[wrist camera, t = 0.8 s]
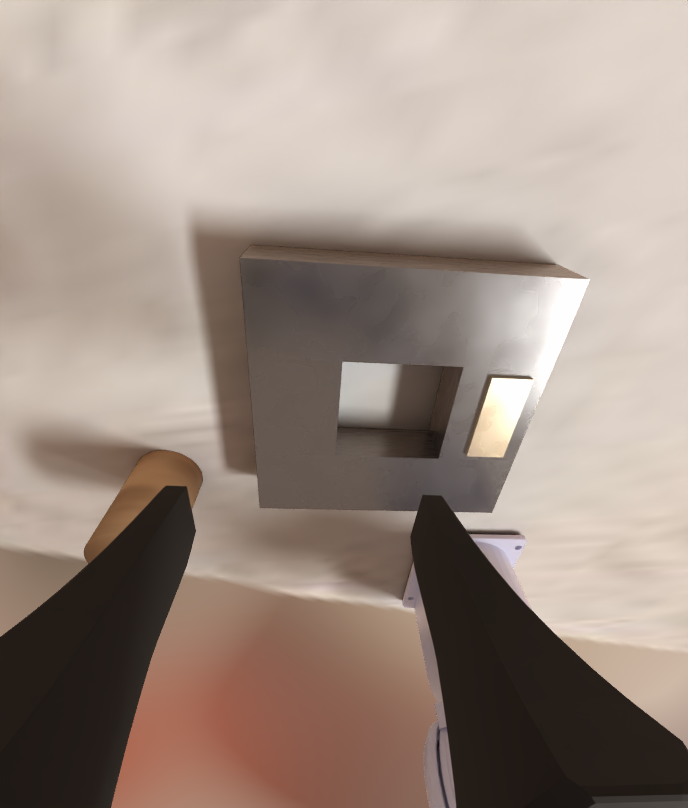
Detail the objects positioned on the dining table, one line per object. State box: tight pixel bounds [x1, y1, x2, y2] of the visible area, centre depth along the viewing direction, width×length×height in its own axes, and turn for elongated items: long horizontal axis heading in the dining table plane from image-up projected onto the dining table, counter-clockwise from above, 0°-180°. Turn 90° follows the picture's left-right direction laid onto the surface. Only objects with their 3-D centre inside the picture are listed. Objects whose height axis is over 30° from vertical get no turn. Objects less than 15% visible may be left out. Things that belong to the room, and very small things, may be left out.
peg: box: [84, 450, 203, 563], centre depth 21 cm, size 4×4×6 cm
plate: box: [240, 245, 590, 513], centre depth 20 cm, size 14×14×3 cm
